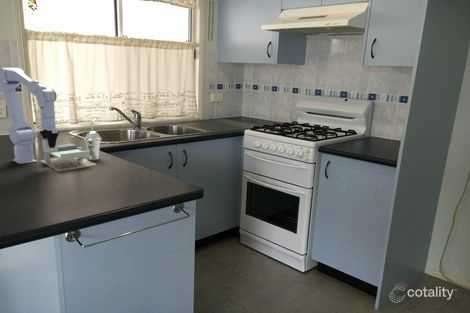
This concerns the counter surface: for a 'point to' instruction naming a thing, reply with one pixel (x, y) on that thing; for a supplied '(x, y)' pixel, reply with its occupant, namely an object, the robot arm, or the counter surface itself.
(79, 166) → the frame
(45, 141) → the white rectangular block
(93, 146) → the cup with straw
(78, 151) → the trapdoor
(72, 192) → the counter surface
